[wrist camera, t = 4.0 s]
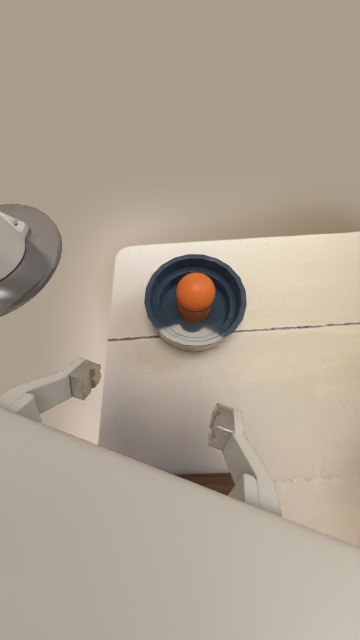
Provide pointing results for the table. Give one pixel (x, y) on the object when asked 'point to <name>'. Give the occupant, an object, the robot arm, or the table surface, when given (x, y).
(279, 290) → the table surface
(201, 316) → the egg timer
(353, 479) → the table surface
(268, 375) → the table surface
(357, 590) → the robot arm
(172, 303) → the glazed bowl
